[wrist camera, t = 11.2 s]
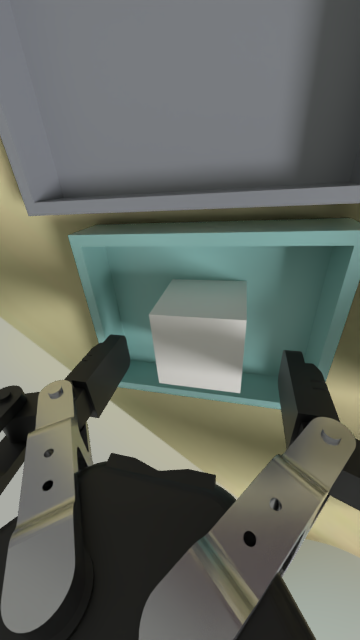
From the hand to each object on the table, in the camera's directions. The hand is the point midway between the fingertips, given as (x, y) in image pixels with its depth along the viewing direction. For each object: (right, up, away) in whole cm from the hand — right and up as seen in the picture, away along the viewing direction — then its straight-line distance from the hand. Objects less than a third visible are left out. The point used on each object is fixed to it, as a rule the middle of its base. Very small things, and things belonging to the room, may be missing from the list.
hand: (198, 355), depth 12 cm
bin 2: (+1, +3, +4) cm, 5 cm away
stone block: (+1, +2, +4) cm, 4 cm away
